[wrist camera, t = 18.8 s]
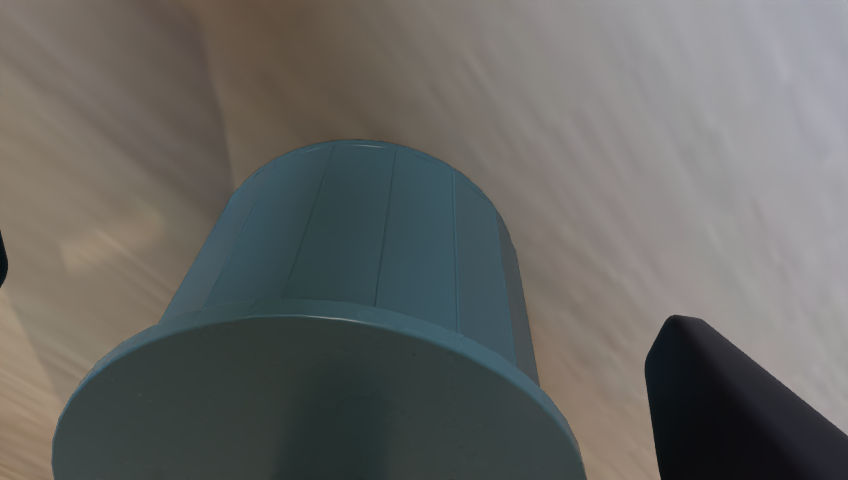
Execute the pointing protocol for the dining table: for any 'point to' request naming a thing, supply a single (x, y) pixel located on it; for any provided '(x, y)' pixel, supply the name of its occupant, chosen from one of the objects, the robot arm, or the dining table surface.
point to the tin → (368, 243)
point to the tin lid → (309, 402)
